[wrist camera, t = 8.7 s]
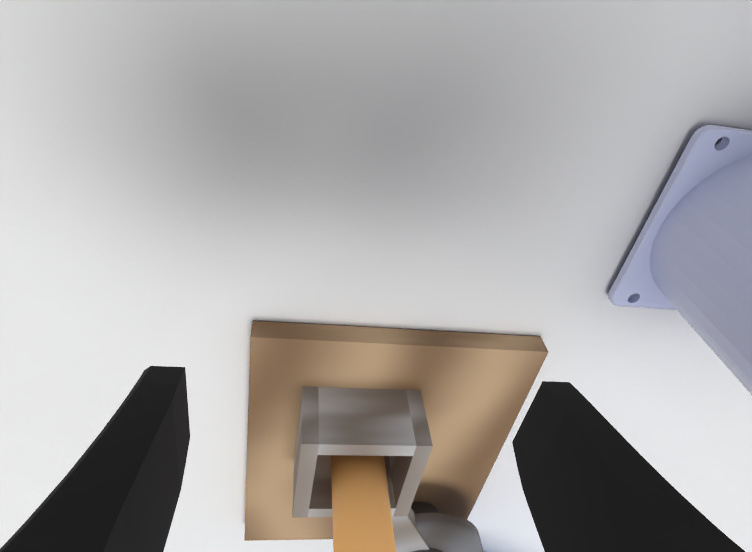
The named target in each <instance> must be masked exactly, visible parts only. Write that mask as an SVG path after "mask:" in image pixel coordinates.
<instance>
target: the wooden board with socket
mask: <svg viewBox="0 0 752 552" xmlns="http://www.w3.org/2000/svg"><path fill="white" fill-rule="evenodd" d="M547 354H548V350H547V348H546V346H545V344H544V342H543V340H542V339H541V337H538V336H520V335H502V334H484V333H466V332H448V331H430V330H411V329H393V328H375V327H357V326H339V325H321V324H303V323H285V322H267V321H253V324H252V331H251V342H250V375H249V409H248V442H247V475H246V509H245V540H304V539H333V514H332V483H331V455H361V456H384V460H385V468H386V476H387V484H388V492H389V500H390V508H391V516H392V523H393V531H394V539H395V547H396V552H483V548H482V544H481V540H480V536H479V533H478V530H477V528H476V527H475V526H474V525H473V524H472V523H471V522H469V521H468V520H467V518H468V516H469V514H470V512H471V510H472V508H473V506H474V504H475V502H476V500H477V498H478V496H479V494H480V492H481V490H482V488H483V485H484V483H485V481H486V479H487V477H488V475H489V473H490V471H491V469H492V467H493V465H494V463H495V461H496V459H497V457H498V455H499V453H500V451H501V448H502V446H503V444H504V442H505V440H506V438H507V436H508V434H509V432H510V430H511V428H512V426H513V424H514V422H515V420H516V418H517V416H518V413H519V411H520V409H521V407H522V405H523V403H524V401H525V399H526V397H527V395H528V393H529V391H530V389H531V387H532V385H533V383H534V381H535V379H536V376H537V374H538V372H539V370H540V368H541V366H542V364H543V362H544V360H545V358H546V356H547Z"/></svg>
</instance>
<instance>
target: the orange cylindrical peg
mask: <svg viewBox="0 0 752 552" xmlns="http://www.w3.org/2000/svg"><path fill="white" fill-rule="evenodd" d="M331 483H332V514H333V546H334V552H396V547H395V539H394V531H393V523H392V516H391V508H390V500H389V492H388V484H387V476H386V468H385V460H384V456H361V455H331Z"/></svg>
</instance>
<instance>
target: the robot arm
mask: <svg viewBox="0 0 752 552" xmlns="http://www.w3.org/2000/svg"><path fill="white" fill-rule="evenodd" d="M721 137H722V140H721V141H720V143H719V144H717V145H716V146H715V143H716V141H717V140H718V139H720V138H721ZM632 294H634V295H632ZM630 295H632V296H631V297H630ZM608 297H609V299H610V301H611V302H612V303H613V304H614V305H617V306H628V307H642V308H657V309H672V310H678V312H679V313H680V314H681V315H682V316H683V317H684V318H685V320H686V321H687V322H688V323H689V324H690V325H691V326H692V328H693V329H694V330H695V331H696V332H697V333H698V334H699V335H700V337H701V338H702V339H703V340H704V341H705V342H706V343H707V345H708V346H709V347H710V348H711V349H712V350H713V351H714V353H715V354H716V355H717V356H718V357H719V358H720V359H721V360H722V362H723V363H724V364H725V365H726V366H727V367H728V368H729V370H730V371H731V372H732V373H733V374H734V375H735V376H736V378H737V379H738V380H739V381H740V382H741V383H742V384H743V385H744V387H745V388H746V389H747V390H748V391H749V392H750V393H751V395H752V130H745V129H738V128H731V127H724V126H717V125H705V126H702V127H700V128H699V129H698V130H696V131H695V132H694V134H693V135H692V136H691V138H690V140H689V142H688V144H687V146H686V148H685V150H684V152H683V153H682V155H681V157H680V159H679V161H678V163H677V165H676V167H675V169H674V170H673V172H672V174H671V176H670V178H669V180H668V182H667V184H666V185H665V187H664V189H663V191H662V193H661V195H660V197H659V199H658V201H657V202H656V204H655V206H654V208H653V210H652V212H651V214H650V216H649V218H648V219H647V221H646V223H645V225H644V227H643V229H642V231H641V233H640V235H639V236H638V238H637V240H636V242H635V244H634V246H633V248H632V250H631V251H630V253H629V255H628V257H627V259H626V261H625V263H624V265H623V267H622V268H621V270H620V272H619V274H618V276H617V278H616V280H615V282H614V284H613V285H612V287H611V289H610V291H609V294H608ZM189 440H190V430H189V416H188V402H187V388H186V374H185V367H162V366H150V367H149V368H147V369H146V370H145V371H144V372H143V374H142V375H141V377H140V378H139V380H138V381H137V383H136V384H135V386H134V387H133V389H132V390H131V392H130V393H129V395H128V396H127V397H126V399H125V400H124V402H123V403H122V404H121V406H120V407H119V409H118V410H117V411H116V413H115V414H114V415H113V417H112V418H111V419H110V421H109V422H108V423H107V425H106V426H105V427H104V429H103V430H102V431H101V433H100V434H99V435H98V437H97V438H96V439H95V440H94V442H93V443H92V444H91V445H90V447H89V448H88V449H87V450H86V452H85V453H84V454H83V455H82V457H81V458H80V459H79V460H78V462H77V463H76V464H75V465H74V467H73V468H72V469H71V470H70V471H69V473H68V474H67V475H66V476H65V477H64V479H63V480H62V481H61V482H60V483H59V484H58V485H57V487H56V488H55V489H54V490H53V491H52V492H51V493H50V495H49V496H48V497H47V498H46V499H45V500H44V501H43V503H42V504H41V505H40V506H39V507H38V508H37V509H36V511H35V512H34V513H33V514H32V515H31V516H30V517H29V519H28V520H27V521H26V522H25V523H24V524H23V525H22V526H21V527H20V528H19V530H18V531H17V532H16V533H15V534H14V535H13V536H12V537H11V538H10V539H9V540H8V541H7V542H6V543H5V545H4V546H3V547H2V548H1V549H0V552H163V550H164V547H165V544H166V540H167V537H168V533H169V530H170V526H171V522H172V519H173V515H174V512H175V508H176V505H177V501H178V498H179V494H180V490H181V485H182V480H183V474H184V469H185V463H186V457H187V451H188V445H189ZM512 443H513V447H514V452H515V457H516V462H517V467H518V471H519V475H520V479H521V483H522V488H523V491H524V494H525V497H526V500H527V503H528V506H529V509H530V511H531V514H532V517H533V520H534V523H535V526H536V528H537V531H538V534H539V537H540V539H541V542H542V545H543V548H544V550H545V552H745V551H744V550H743V549H741V548H740V547H739V546H738V545H737V544H735V543H734V542H733V541H732V540H731V539H729V538H728V537H727V536H726V535H725V534H724V533H723V532H721V531H720V530H719V529H718V528H717V527H716V526H715V525H713V524H712V523H711V522H710V521H709V520H708V519H707V518H706V517H705V516H704V515H703V514H701V513H700V512H699V511H698V510H697V509H696V508H695V507H694V506H693V505H692V504H691V503H690V502H688V501H687V500H686V499H685V498H684V497H683V496H682V495H681V494H680V493H679V492H678V491H677V490H676V489H675V488H674V487H673V486H672V485H670V484H669V483H668V482H667V481H666V480H665V479H664V478H663V477H662V476H661V475H660V474H659V473H658V472H657V471H656V470H655V469H654V468H653V467H652V466H651V465H650V464H649V463H648V462H647V461H646V460H645V459H644V458H643V457H642V456H641V455H640V454H639V453H638V452H637V451H636V450H635V449H634V448H633V447H632V446H631V445H630V444H629V443H628V442H627V441H626V440H625V439H624V438H623V436H622V435H621V434H620V433H619V432H618V431H617V430H616V429H615V428H614V427H613V426H612V425H611V424H610V423H609V422H608V421H607V420H606V419H605V418H604V417H603V416H602V415H601V414H600V413H599V412H598V411H597V410H596V409H595V408H594V406H593V405H592V404H591V403H590V402H589V401H588V400H587V399H586V398H585V397H584V396H583V395H582V394H581V393H580V392H579V391H578V390H577V389H576V388H575V387H574V386H573V385H572V384H570V383H569V382H545V381H543V382H542V384H541V386H540V388H539V390H538V392H537V394H536V396H535V398H534V400H533V402H532V404H531V406H530V408H529V410H528V412H527V414H526V416H525V418H524V420H523V422H522V424H521V426H520V428H519V430H518V432H517V434H516V436H515V438H514V440H513V442H512Z"/></svg>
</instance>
